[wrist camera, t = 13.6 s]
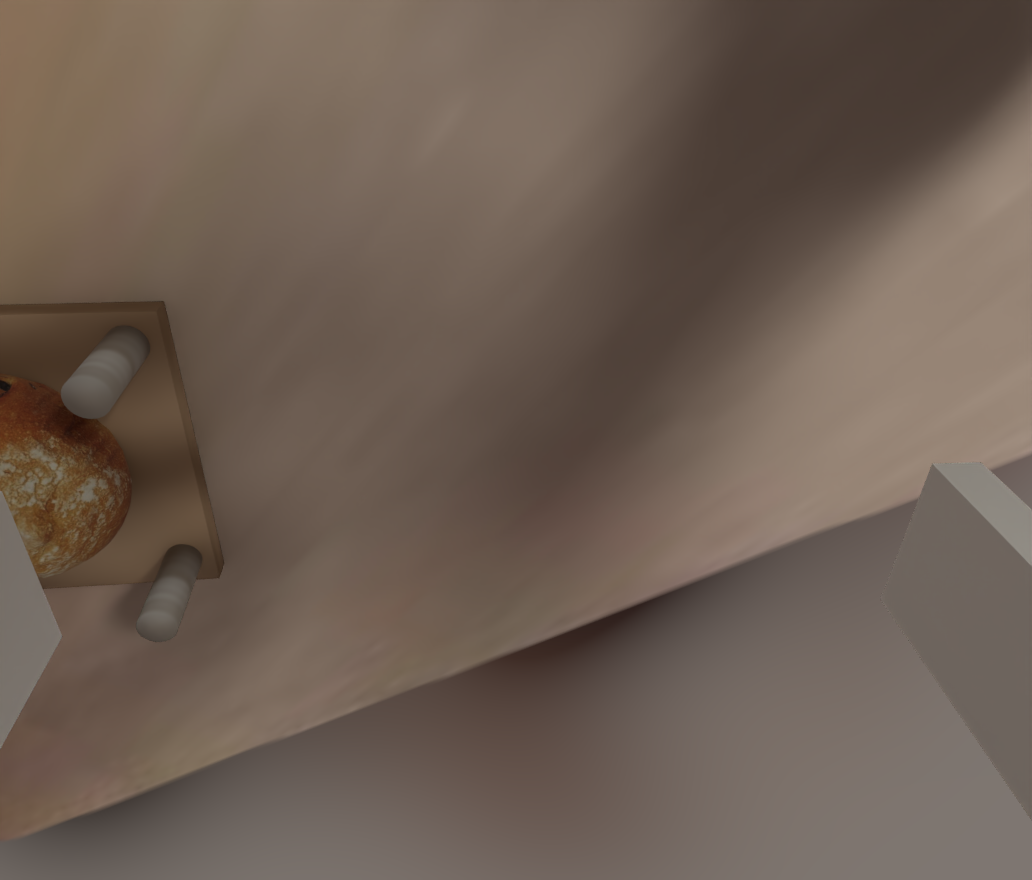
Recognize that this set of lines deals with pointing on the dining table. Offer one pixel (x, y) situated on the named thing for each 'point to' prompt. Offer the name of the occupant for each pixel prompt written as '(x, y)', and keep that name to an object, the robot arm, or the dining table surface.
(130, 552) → the trivet
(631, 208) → the dining table surface
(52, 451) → the bread roll
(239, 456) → the dining table surface
